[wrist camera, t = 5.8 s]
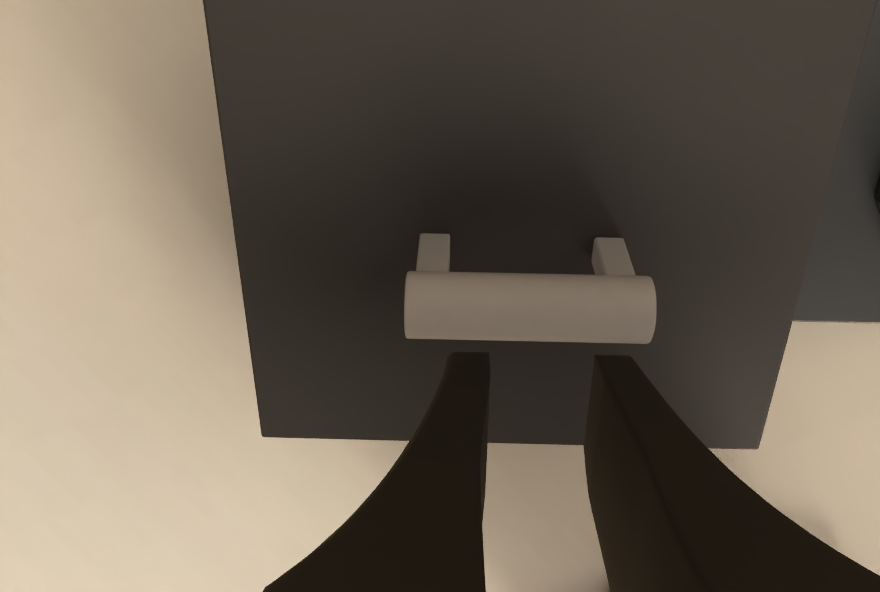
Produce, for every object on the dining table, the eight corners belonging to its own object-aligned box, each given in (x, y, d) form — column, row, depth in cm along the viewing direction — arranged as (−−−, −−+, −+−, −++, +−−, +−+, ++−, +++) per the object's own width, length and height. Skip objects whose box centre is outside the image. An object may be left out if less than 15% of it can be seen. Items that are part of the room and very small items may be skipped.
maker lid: (750, 430, 23) (800, 546, 20) (267, 419, 24) (232, 530, 20) (881, -81, 17) (992, -44, 13) (201, -88, 17) (131, -54, 13)
